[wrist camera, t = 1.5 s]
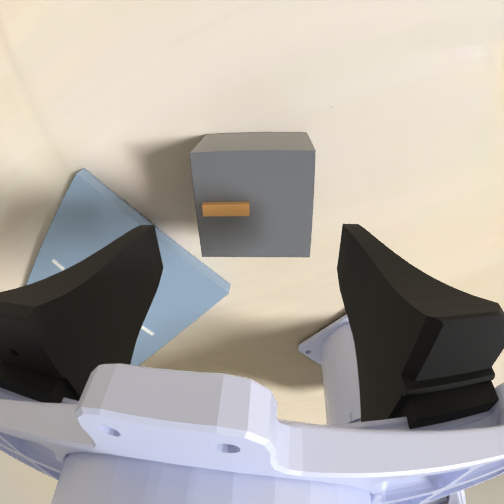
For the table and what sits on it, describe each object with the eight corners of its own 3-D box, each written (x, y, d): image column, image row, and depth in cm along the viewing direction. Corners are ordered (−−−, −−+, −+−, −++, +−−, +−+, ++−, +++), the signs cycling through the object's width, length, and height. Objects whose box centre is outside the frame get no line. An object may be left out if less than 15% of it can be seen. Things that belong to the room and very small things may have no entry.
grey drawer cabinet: (306, 132, 17) (316, 152, 13) (303, 221, 20) (310, 260, 16) (206, 134, 17) (188, 154, 14) (214, 221, 20) (200, 259, 17)
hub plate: (230, 284, 23) (223, 319, 20) (129, 367, 30) (119, 395, 27) (84, 168, 19) (54, 189, 16) (26, 292, 26) (8, 317, 23)
